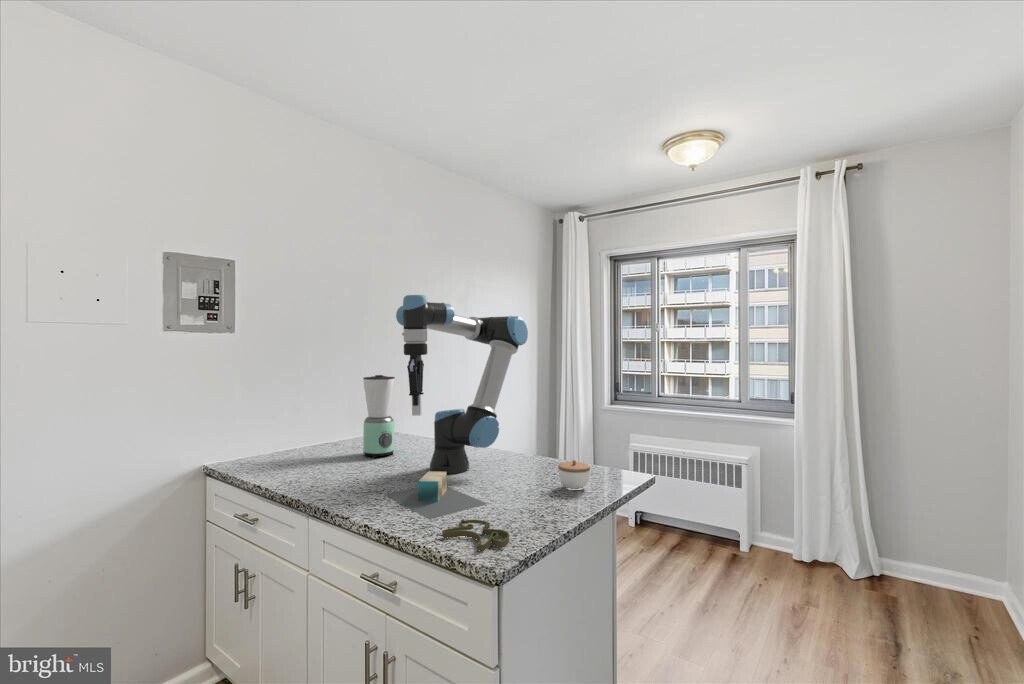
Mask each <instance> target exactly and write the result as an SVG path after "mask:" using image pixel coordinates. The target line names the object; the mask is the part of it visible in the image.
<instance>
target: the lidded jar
mask: <svg viewBox="0 0 1024 684" xmlns="http://www.w3.org/2000/svg"><path fill="white" fill-rule="evenodd" d="M557 467H558V468H557V469H558V478H559V481H560V484H561V485H562V486H563V487H564V488H565V487H566V488H571V489H579V488H583V487H584V488H585V487H586V486H587V484H588V483H589V481H590V477H591V476H590V475H591V465H590V464H589V463H586V462H581V461H576V460H575V459H572V461H564V462H560V463H558V465H557ZM584 488H583V489H584Z"/></svg>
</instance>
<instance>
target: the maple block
mask: <svg viewBox="0 0 1024 684" xmlns="http://www.w3.org/2000/svg"><path fill="white" fill-rule="evenodd" d="M447 475H448V474H447V472H441V471H430V470H429V471H427V472H426V473H425V474H424V475H423V476H422V477H421V478H420V479H419V480H417V483H418V485H417V488H418V501H423V502H438V501H439V500H440V498H441V497H442V496H443V494H444V493H445V492H446V490H447V487H448V486H447V481H448V480H447V479H448V476H447Z"/></svg>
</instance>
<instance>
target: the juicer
mask: <svg viewBox="0 0 1024 684" xmlns="http://www.w3.org/2000/svg"><path fill="white" fill-rule="evenodd" d="M362 378H363V389H364V394H365V401H366V409H367V415H368V416H367V417H366V418H365V419H364V421H363V442H362V443H363V444H362V445H363V447H362V448H363V449H362V451H363V454H365V455H364V456H368V457H369V456H370V457H372V459H376V458H375V457H377V458H378V457H381V456H389V455H392V456H394V452H395V422H394V418H393V417H392V416H391V414H390V413H391V408H392V401H393V393H394V388H395V379H396V377H395V376H386V375H384V374H376V375H374V376H364V377H362Z"/></svg>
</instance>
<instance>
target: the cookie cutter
mask: <svg viewBox="0 0 1024 684" xmlns="http://www.w3.org/2000/svg"><path fill="white" fill-rule="evenodd" d="M463 523H464V524H466V525H464V524H463ZM467 523H468V524H467ZM472 523H480V524H484V526H483V527H482V535H483V534H486V535H485V536H487V535H491V536H489V538H488V539H487V541H486V542H484V543H482V536H481V535H480V534H479V533H477V532H475V531H472V529H474V524H472ZM488 528H489V529H488ZM441 534H442V535H441V536H443V537H444V539H445V538H446V539H450V538H449V537H454V538H458V537H457V536H465V537H464V538H467V537H472V538H475V539H477V540H478V541H479V542H478V541H477V540H476V541H477V542H478V543H477V551H478V550H480V551H484V550H485V549H487V548H488V547H489V548H490V546H491V545H492V544H493V545H495V546H498V547H501V548H502V547H504V546H506V545H507V544H508V543H509V544H510V533H509V532H508V531H506V530H504V529H497V528H490V522H489V521H485V520H482V519H466V520H465V519H460V522H459V526H457V527H451V528H446V529H443V530H442V531H441ZM498 535H499V536H498ZM466 536H467V537H466ZM500 536H503V537H502V538H504V537H506V538H504V539H503V540H499V537H500ZM443 537H442V538H443ZM447 537H448V538H447ZM472 538H471V539H472ZM475 539H474V540H475ZM491 542H492V543H491ZM490 544H491V545H490ZM509 544H508V545H509ZM489 545H490V546H489ZM493 545H492V546H493ZM508 545H507V546H508ZM495 546H494V547H495ZM507 546H506V547H507ZM498 547H497V548H498ZM489 548H488V549H489ZM501 548H500V549H501ZM504 548H505V547H504ZM488 549H487V550H488ZM502 549H503V548H502ZM480 551H479V552H480ZM485 551H486V550H485ZM485 551H484V552H485Z"/></svg>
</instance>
